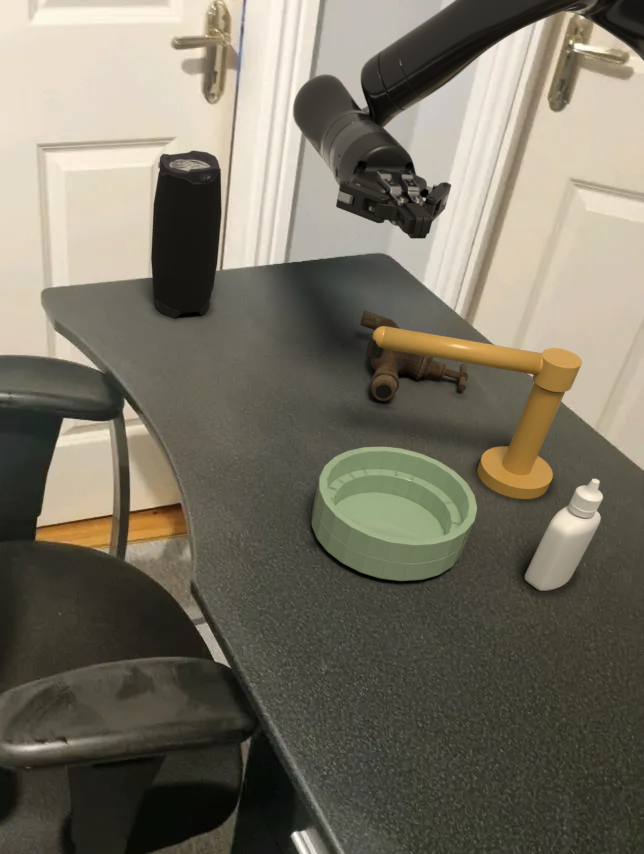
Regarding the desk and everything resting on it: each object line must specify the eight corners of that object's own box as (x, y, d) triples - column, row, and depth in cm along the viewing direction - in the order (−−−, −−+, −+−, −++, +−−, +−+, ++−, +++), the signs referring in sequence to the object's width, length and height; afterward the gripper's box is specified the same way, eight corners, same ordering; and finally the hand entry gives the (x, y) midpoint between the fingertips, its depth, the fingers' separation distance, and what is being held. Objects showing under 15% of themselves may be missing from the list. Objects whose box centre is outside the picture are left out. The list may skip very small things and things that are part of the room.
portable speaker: (138, 309, 119) (141, 160, 106) (174, 286, 125) (181, 142, 111) (190, 328, 117) (200, 177, 103) (224, 303, 122) (238, 158, 109)
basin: (429, 484, 95) (443, 443, 91) (484, 581, 84) (502, 539, 80) (294, 491, 92) (302, 449, 89) (333, 591, 82) (344, 548, 78)
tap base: (529, 455, 100) (568, 364, 92) (560, 497, 95) (604, 404, 86) (466, 458, 99) (499, 365, 91) (493, 501, 94) (532, 406, 85)
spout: (568, 379, 90) (580, 351, 88) (571, 398, 87) (584, 370, 85) (366, 344, 92) (373, 316, 90) (363, 362, 89) (370, 333, 87)
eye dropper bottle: (513, 562, 87) (556, 466, 78) (565, 561, 87) (614, 466, 79) (529, 593, 83) (576, 496, 75) (583, 591, 84) (636, 495, 76)
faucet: (354, 364, 103) (474, 400, 102) (368, 298, 114) (476, 330, 114) (342, 397, 106) (457, 431, 106) (357, 329, 118) (462, 360, 117)
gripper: (319, 129, 93) (366, 188, 81) (433, 132, 95) (495, 190, 83) (308, 200, 98) (350, 266, 86) (416, 201, 100) (472, 266, 88)
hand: (421, 229), depth 85 cm, fingers closed
